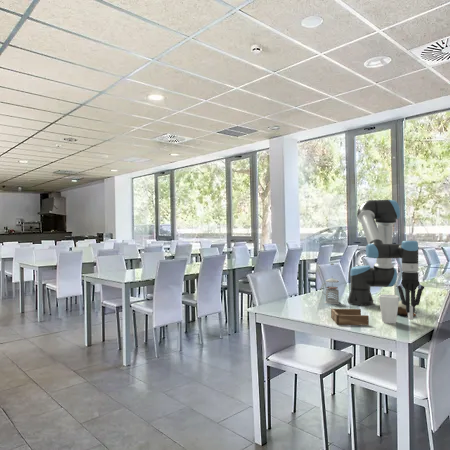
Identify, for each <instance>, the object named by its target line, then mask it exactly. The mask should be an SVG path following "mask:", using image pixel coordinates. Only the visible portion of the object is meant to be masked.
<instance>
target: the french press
mask: <svg viewBox="0 0 450 450" xmlns="http://www.w3.org/2000/svg"><path fill="white" fill-rule="evenodd" d="M330 266H334V263H333V262H331V263H330ZM339 281H340V280H338V279H336V278H333V277H331V278H328V279H326V280H325V282H324V283H322V285H321V287H320V289H321V292H322V294H323V295H325V301H324V304H328V305H340V304H341V302H340V301H339V300H340V299H339V297H340V296H339V294H340V293H339V288H338V286H332V285H331V286H329V285H328V286H326V289H325V293H324V292H323V286H324V285H327V283H339ZM339 303H340V304H339Z"/></svg>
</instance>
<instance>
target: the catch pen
mask: <svg viewBox="0 0 450 450" xmlns="http://www.w3.org/2000/svg"><path fill="white" fill-rule="evenodd" d="M330 316H331V319H332V321H334V323H335V324H336V325H339V326H340V325H343V326H347V325H348V326H369V325H370V322H369V319H370V317H369V315H368V314H367V315H365V314H364V315H363V314H362V310H361V309H360V308H330Z"/></svg>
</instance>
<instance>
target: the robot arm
mask: <svg viewBox="0 0 450 450" xmlns="http://www.w3.org/2000/svg"><path fill="white" fill-rule="evenodd" d="M356 216H357V219H358V222H359V223H361V227H362V229H363V233H364V236H365V238H366V242H367V244H366V245H365V255H366V257H367V258H370V259H375V260H376V262H374V263H373V267H371V266H370V265H357V266H353V267H351V268H350V292H349V294H348V298H347V303H348V304H349V305H353V306H354V305H355V306H372V305H374V298H373V296H372V293H371V288H372V287H373V288H378V287H379V288H380V287H381V288H392V287H393V286H395V285H396V286H395V287H396V289H397V290H398V293H399V299H400V301H401V302H402V304H404V305H406V312H407V313H408V317H407V320H410V321H411V320H414V316H413V313H415V314H416V306H419V305H420V302H421V297H422V294H423V290H424V289H425V286H424V285H422V284H421V283H420V281H419V278H420V277H419V276H420V275H419V242H418V241H417V240H402V242H401V243H393V235H394V234H393V233H394V226H395V224H396V223H397V220H399V219H400V217H401V208H400V204H399V203H398V202H397V200H394V199H369V200H366V201H364V202H362V204H360V206H359V207H358V209H357V212H356ZM392 259H401V271H402V272H401V282H400V284H396V283H397V279H398V271H397V268H395V266H394V264H393V263H392V261H393V260H392ZM403 289H404V290H405V293H404V290H403ZM416 290H417V292H416ZM404 294H405V295H404Z"/></svg>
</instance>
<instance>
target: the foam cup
mask: <svg viewBox="0 0 450 450" xmlns="http://www.w3.org/2000/svg"><path fill="white" fill-rule="evenodd" d="M378 301H379V308H380V313H381V314H380V315H381V321H382V323H385V324H396V323H397V317H398V315H397V312H398V304H399V301H400V295H398V294H397V295H396V294H388V293H385V294H384V293H382V294H378Z"/></svg>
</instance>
